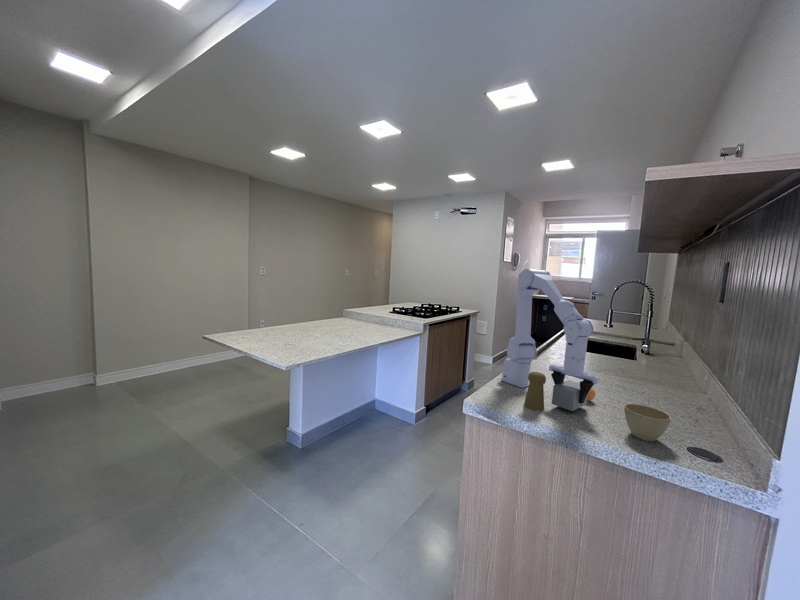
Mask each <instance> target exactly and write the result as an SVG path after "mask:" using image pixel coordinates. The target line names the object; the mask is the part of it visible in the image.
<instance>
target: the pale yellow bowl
mask: <svg viewBox="0 0 800 600" xmlns="http://www.w3.org/2000/svg"><path fill="white" fill-rule="evenodd" d="M623 408H624V416H625V421H626V424H627V425H628V428H629V431H630V433H631V435H633V436H634V437H635V438H638V439H640V440H642V441H645V442H654V441H655V442H656V441H657V440H658V439H659V438H660V437H661V436H662V435H663V434H664V433H665V432H666V430H667V428H668V427H669V425H670V423H671V420H672V417H671V415H670V414H668V413H667V412H664V411H663V410H660V409H658V408H654V407H652V406H648V405H643V404H637V403H625V404H624V407H623Z"/></svg>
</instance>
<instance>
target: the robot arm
mask: <svg viewBox="0 0 800 600" xmlns="http://www.w3.org/2000/svg"><path fill="white" fill-rule="evenodd" d="M517 279H518V280H517V288H516V289H517V290H516V309H515V311H516V313H515V314H516V315H515V334H514V336H512V337H511V338H510V339H509V340H508V346H507V349H506V353H507V358H505V360H504V361H503V363H502V364H503V365H502V374H501V379H500V381H502V382H505V383H508V384H510V385H513V386H516V387H519V388H521V389H522V388H525V387H528V386H529V380H528V375H529V373H531V365H532V364H531V363H533V360H534V359H536V357H537V353H538V351H537V350H538V349H537V347H536V340H535V339H534V338H533V337H532V336H531V335H532V333H531V332H532V330H531V329H532V312H533V311H532V310H533V309H532V306H533V295H534V294H536V293H537V292H538V291H540V290H542V292H543V293H544V294H545V296H546V297H547V298H548V299H549V300H550V301H551V303H552V304H553V305H554V306H553V307H554V308H553V310H554V312H555V314H556V316H557V317H558V319H559V320H560V321H561V323H562V325H563V333H564V335H565V342H566V343H565V350H564V351H565V352H564V360H563V366H562V365H556V364H549V366H548V371H549V372H552V373H551V379H552V380H553V383H554V385H556V384H559V383H562V382H565V379H566V378H565V377H566V376H568V377H572V378H576V379H579V380H581V381H579V383H580V397H579V403H581V404H582V403H584V401H585V398H586V396H587V394H588V392H589V390H590V389H591V388H593V387H594V385H597V384H600V379H601V378H600V376H597V375H593V374H591V373H588V372H586V371H585V364H586V358H587V357H586V356H587V350H588V349H587V348H588V340H589V338H590V337H591V336H592V335H593V333H594V325H593V324H592V322H591V320H589V319H588V318H585V317H583V315H582V314H580V313H579V311H578V310H577V308H576V307H575V304H574V302H572V301H570V300H565V299H564V297H563V295H562V293H561V291H560V290H559V289H558V287H557V286H556V284H555V283H554V276H553V275H552V274H551V273H550V272H549V270H547V269H533V268H524V269H523V270H522V271H521V272H520V273H519V274H518V278H517Z"/></svg>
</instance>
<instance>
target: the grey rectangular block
mask: <svg viewBox="0 0 800 600" xmlns="http://www.w3.org/2000/svg"><path fill="white" fill-rule="evenodd" d="M579 397H580V382H576V381H574V380H570V379H568V380H566V381H565V380H564V382H562V383H559V384H556V385H555V384H553V388H552V397H551V398H552V399H551V405H554V406H556V407H559V408H561V409H565V410H568V411H570V412H573V411H576V410H578V409H580V408H582V407H585V406H586V405H587V404H588V401H587V399H588V394H587V396H586V398H585V401H584V403H582V404H581V403H579Z"/></svg>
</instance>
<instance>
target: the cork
mask: <svg viewBox="0 0 800 600" xmlns="http://www.w3.org/2000/svg"><path fill="white" fill-rule="evenodd" d="M528 380H529V386H527V387H528V388H527V390H526V391H527V392H526V395H525V399H524V403H523V406H524V407H525V406H526V407H525V408H527V409H529V408H530V409H529V410H532V411H537V410H542V411H544V410H545V393H544V392H545V391H544V386H545V384H546V381H547V377H546V375H545V374H544V373H542V372H537V371H530V373H529V375H528ZM543 409H544V410H543Z"/></svg>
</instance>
